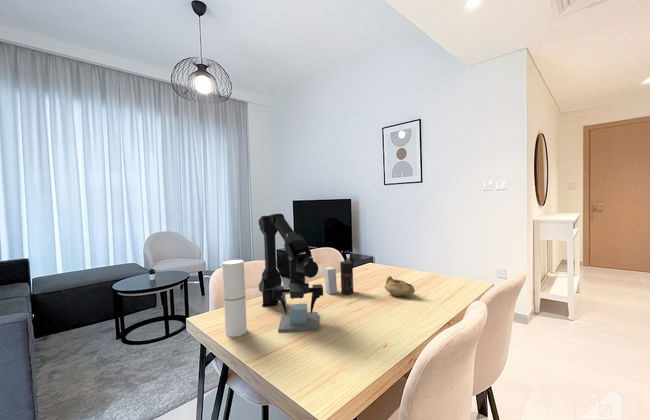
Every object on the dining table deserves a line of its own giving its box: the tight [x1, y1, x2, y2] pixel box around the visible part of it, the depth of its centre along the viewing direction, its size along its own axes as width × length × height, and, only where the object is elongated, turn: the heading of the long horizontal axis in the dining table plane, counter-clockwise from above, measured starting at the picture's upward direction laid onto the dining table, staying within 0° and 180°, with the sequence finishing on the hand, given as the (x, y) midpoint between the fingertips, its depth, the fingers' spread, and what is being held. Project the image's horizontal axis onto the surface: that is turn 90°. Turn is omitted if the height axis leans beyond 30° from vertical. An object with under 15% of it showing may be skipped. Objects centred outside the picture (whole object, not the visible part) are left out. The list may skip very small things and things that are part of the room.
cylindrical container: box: [221, 259, 248, 338], centre depth 101 cm, size 7×7×25 cm
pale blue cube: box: [289, 303, 308, 324], centre depth 107 cm, size 6×6×5 cm
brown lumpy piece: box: [384, 275, 416, 297], centre depth 134 cm, size 11×15×8 cm
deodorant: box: [340, 260, 354, 296], centre depth 140 cm, size 6×6×15 cm
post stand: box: [277, 311, 319, 333], centre depth 107 cm, size 14×14×5 cm
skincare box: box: [323, 266, 338, 295], centre depth 141 cm, size 6×4×12 cm
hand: (298, 313), depth 107 cm, fingers open, 9 cm apart
